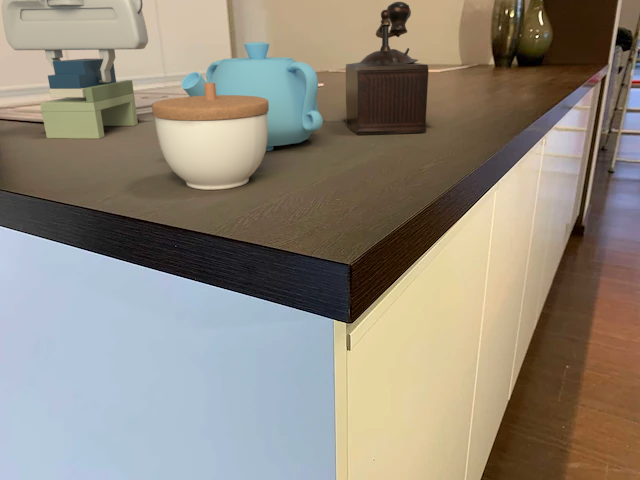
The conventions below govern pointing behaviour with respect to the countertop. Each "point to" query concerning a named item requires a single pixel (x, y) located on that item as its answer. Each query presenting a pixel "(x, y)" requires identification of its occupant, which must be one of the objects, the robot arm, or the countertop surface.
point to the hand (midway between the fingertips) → (85, 82)
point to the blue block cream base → (75, 77)
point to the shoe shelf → (90, 112)
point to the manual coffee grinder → (387, 84)
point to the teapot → (268, 90)
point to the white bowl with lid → (212, 137)
